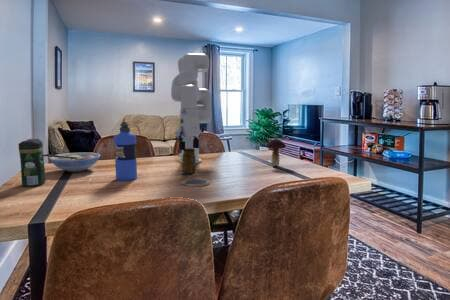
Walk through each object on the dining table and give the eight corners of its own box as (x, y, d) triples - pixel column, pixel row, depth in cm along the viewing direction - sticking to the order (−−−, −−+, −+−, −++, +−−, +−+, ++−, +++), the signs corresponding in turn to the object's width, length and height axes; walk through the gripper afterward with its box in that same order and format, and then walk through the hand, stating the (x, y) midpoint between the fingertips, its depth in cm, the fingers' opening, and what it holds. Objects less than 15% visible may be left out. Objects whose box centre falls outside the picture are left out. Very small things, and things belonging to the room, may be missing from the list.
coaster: (175, 183, 136) (175, 182, 136) (194, 178, 146) (194, 176, 146) (197, 188, 129) (197, 186, 129) (215, 182, 139) (215, 180, 139)
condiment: (193, 171, 161) (193, 147, 159) (199, 175, 153) (199, 149, 151) (179, 172, 157) (179, 148, 156) (185, 176, 150) (184, 150, 148)
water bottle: (125, 182, 138) (123, 123, 135) (111, 179, 143) (108, 122, 140) (141, 177, 146) (140, 122, 142) (127, 175, 151) (125, 121, 147)
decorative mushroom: (276, 169, 167) (277, 140, 165) (260, 166, 175) (261, 138, 173) (289, 166, 174) (290, 139, 172) (273, 163, 182) (274, 137, 180)
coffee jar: (27, 181, 137) (23, 138, 134) (48, 180, 139) (44, 137, 136) (18, 187, 128) (14, 140, 125) (41, 186, 130) (37, 140, 127)
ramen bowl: (112, 168, 165) (111, 152, 164) (75, 178, 144) (73, 160, 143) (77, 164, 175) (76, 149, 174) (37, 172, 155) (36, 155, 154)
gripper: (182, 112, 142) (182, 151, 144) (206, 112, 156) (206, 147, 158) (169, 112, 146) (170, 150, 148) (194, 112, 160) (194, 146, 162)
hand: (189, 148), depth 153 cm, fingers open, 9 cm apart
